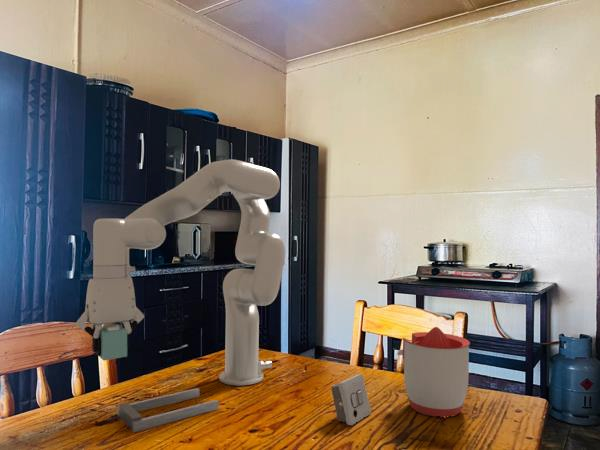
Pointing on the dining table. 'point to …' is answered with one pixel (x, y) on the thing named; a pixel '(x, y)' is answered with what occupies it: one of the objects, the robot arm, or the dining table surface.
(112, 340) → the block
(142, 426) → the rail channel
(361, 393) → the electrical switch
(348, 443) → the dining table surface
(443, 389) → the citrus juicer
